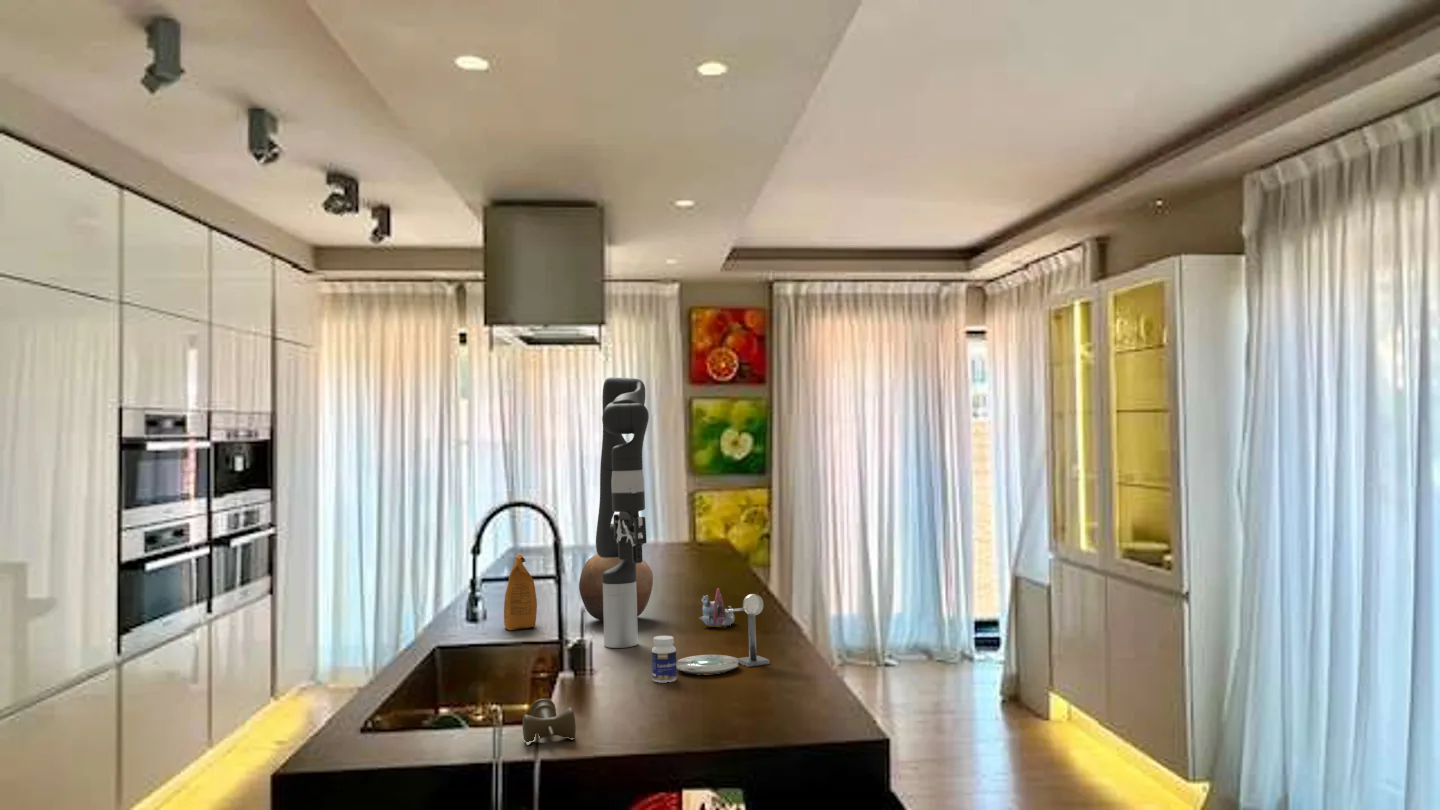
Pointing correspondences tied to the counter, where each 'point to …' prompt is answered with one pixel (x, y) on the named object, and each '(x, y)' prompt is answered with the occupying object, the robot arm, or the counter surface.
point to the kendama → (548, 721)
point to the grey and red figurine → (716, 611)
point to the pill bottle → (664, 660)
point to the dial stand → (752, 629)
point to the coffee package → (520, 598)
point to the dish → (707, 664)
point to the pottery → (594, 585)
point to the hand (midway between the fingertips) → (630, 561)
